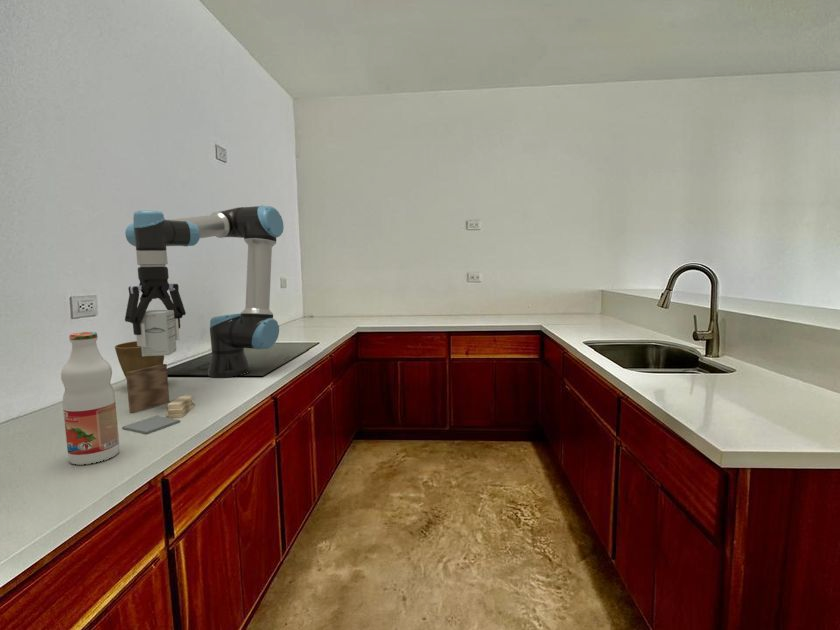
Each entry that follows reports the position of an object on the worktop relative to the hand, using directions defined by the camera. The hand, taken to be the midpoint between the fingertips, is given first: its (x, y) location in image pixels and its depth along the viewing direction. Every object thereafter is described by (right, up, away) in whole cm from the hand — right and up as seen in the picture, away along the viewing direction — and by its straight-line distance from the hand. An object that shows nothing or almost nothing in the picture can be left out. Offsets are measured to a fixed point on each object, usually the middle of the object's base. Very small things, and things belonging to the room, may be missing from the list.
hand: (159, 342), depth 134 cm
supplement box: (0, -3, 0) cm, 3 cm away
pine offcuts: (+7, -20, 0) cm, 21 cm away
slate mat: (+4, -21, -11) cm, 25 cm away
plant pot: (-20, -18, +25) cm, 37 cm away
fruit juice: (+3, -24, -31) cm, 39 cm away
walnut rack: (-5, -20, +5) cm, 21 cm away
